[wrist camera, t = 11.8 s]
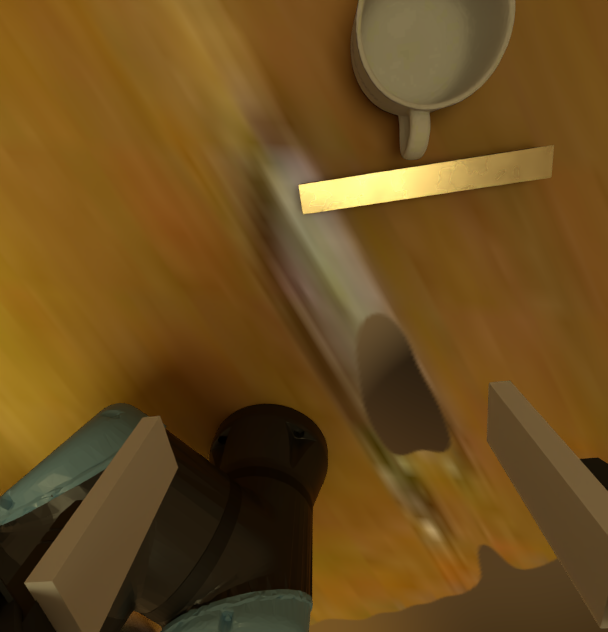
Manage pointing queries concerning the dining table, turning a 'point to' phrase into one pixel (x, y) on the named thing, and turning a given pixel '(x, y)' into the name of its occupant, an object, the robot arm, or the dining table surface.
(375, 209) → the dining table surface
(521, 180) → the stop bar
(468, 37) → the teacup
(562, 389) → the dining table surface
